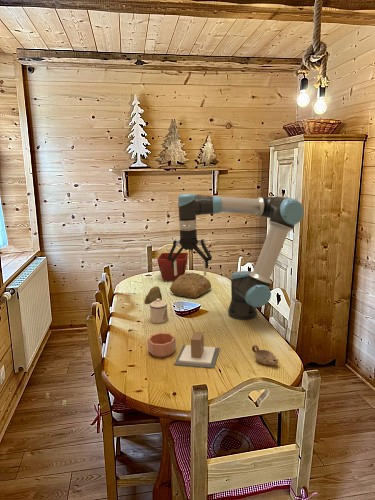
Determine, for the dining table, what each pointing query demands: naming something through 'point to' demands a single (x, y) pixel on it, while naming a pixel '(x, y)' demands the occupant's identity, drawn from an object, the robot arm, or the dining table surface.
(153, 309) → the teacup with lid
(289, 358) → the dining table surface
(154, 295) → the rock
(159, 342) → the bowl
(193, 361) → the lid
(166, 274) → the plant pot
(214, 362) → the mat
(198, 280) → the bread
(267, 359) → the oil lamp
